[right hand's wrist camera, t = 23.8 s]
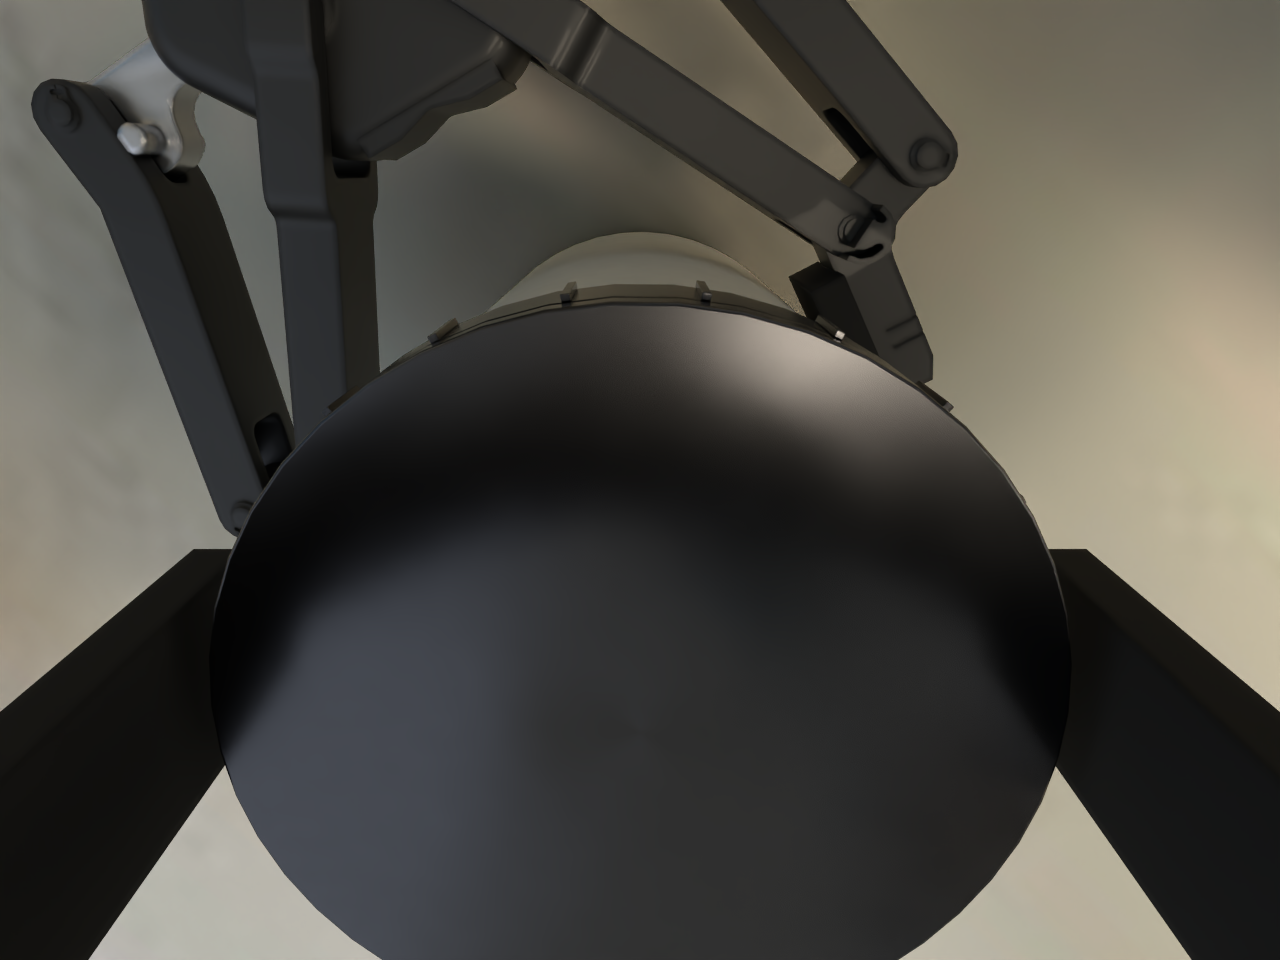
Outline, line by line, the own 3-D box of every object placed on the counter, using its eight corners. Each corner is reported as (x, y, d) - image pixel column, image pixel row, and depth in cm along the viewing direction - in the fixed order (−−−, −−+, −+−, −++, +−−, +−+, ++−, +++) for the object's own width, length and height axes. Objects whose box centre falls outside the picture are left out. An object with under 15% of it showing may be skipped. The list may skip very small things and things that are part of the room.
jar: (768, 576, 28) (902, 997, 14) (459, 532, 27) (263, 922, 13) (842, 263, 24) (1129, 387, 10) (489, 204, 24) (265, 250, 9)
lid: (1140, 751, 13) (1208, 829, 11) (548, 1032, 15) (538, 1130, 13) (782, 89, 9) (809, 73, 8) (93, 566, 12) (11, 625, 10)
